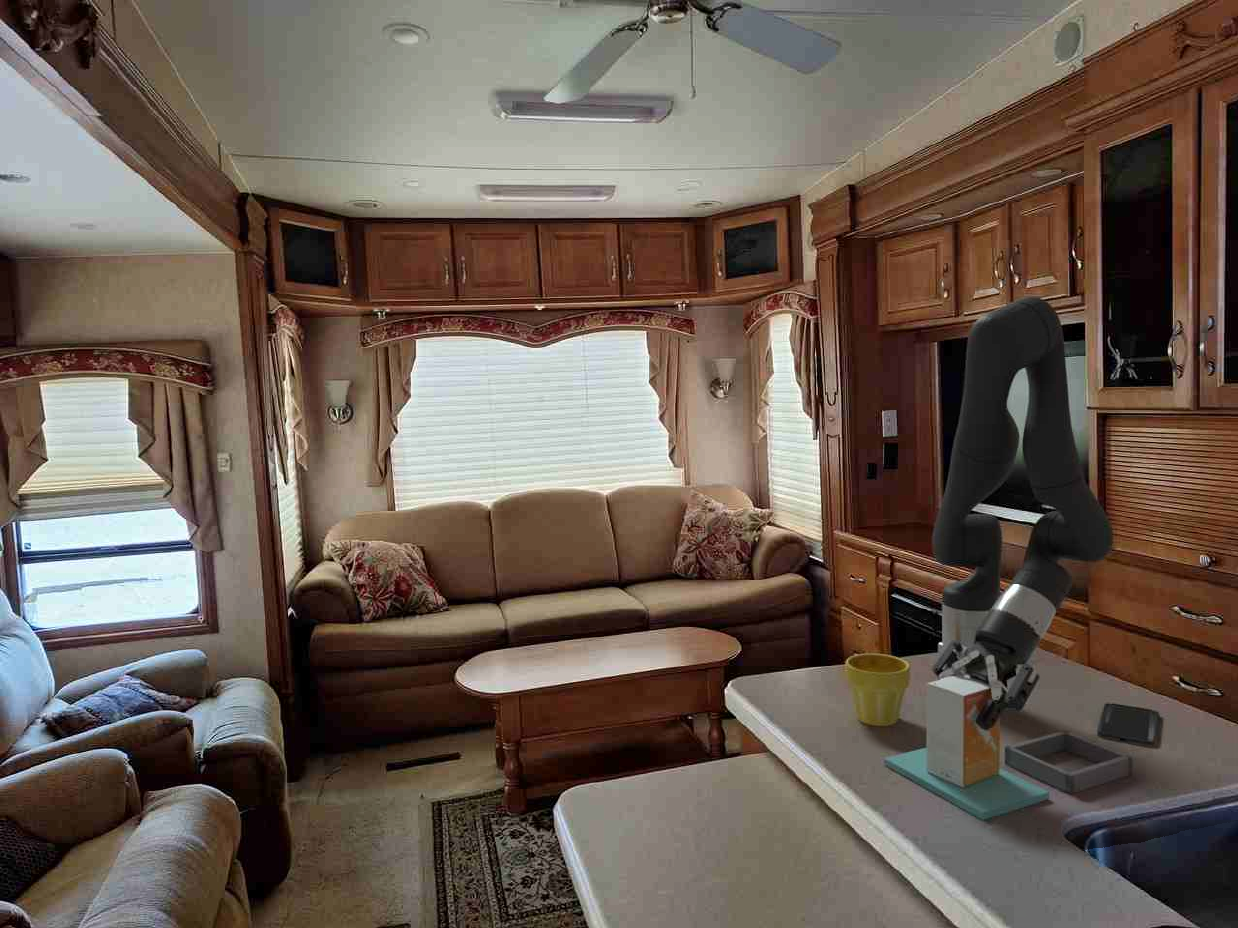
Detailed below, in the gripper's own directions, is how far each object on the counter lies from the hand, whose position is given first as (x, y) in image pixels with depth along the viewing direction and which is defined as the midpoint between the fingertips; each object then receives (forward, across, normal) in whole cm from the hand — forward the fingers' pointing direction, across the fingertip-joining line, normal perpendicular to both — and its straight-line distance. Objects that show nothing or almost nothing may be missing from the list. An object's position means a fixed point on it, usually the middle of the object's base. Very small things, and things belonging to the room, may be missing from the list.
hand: (956, 715), depth 114 cm
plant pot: (+3, -23, +12) cm, 26 cm away
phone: (-20, -2, +35) cm, 41 cm away
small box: (+5, 0, +7) cm, 9 cm away
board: (+6, 0, +8) cm, 10 cm away
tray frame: (-5, +4, +19) cm, 20 cm away
